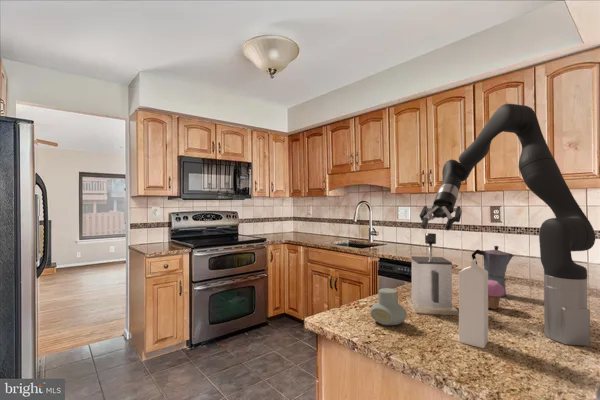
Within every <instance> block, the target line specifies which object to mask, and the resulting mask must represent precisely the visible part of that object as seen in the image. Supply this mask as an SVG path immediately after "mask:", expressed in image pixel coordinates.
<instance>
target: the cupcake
mask: <svg viewBox="0 0 600 400" xmlns="http://www.w3.org/2000/svg"><path fill="white" fill-rule="evenodd" d="M504 293H505V291H504V287H503V286H502V285H500V284H499V282H497V281H493V280H488V309H493V310H497V309H498V308H499V305H500V301H501V298H502V297H501V296H503V295H504Z"/></svg>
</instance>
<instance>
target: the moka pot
mask: <svg viewBox="0 0 600 400" xmlns="http://www.w3.org/2000/svg"><path fill="white" fill-rule="evenodd" d="M493 246H494V248H493V249H490V250H488V249H487V250H481V249H476V250H475V251H473V253H471V259H472V260H474V259H476V264H477V265H478V261H477V257H476V255H480V256H482V257H483V266H484V267H483V269H485V270H486V271H488V280H493V281H497V282H499V284H500V285H502V286H503V287H504V291H505V293H504V295H503V296H501V298H502V297H503V298H505V297H506V296H507V294H506V293H507V292H506V278H505V276H506V272H507V268H508V265H509V263H510V261H511V260H512V258H513V257H514V255H515V254H513V253H510V252H505V251H501V250H499V246H498V245H493Z"/></svg>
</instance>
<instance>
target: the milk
mask: <svg viewBox="0 0 600 400" xmlns="http://www.w3.org/2000/svg"><path fill="white" fill-rule="evenodd" d="M476 261H477V258H476V259H474V260H473V259H472V260H470V266H467V267H465V268H463V269H461V270H460V271H458V342H459V343H461V344H465V345H469V346H473V347H476V348H480V349H485V348H486V345H487V344H488V343H489V308H488V271H486V270H485V269H484V267H482V266H480V265H479V264H478V263H477V264H476Z"/></svg>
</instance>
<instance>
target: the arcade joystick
mask: <svg viewBox="0 0 600 400" xmlns="http://www.w3.org/2000/svg"><path fill="white" fill-rule="evenodd" d="M452 278H453V262H451V261H450V260H448V259H446V258H444V257H443V256H432V260H429V256H411V296H406V302H407V304H408V306H410V309H411V310H412V311H413V313H414V314H423V315H441V316H442V315H444V316H445V315H446V316H459V309H457V308H456V307H454V306H453V282H452V281H453V279H452Z"/></svg>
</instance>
